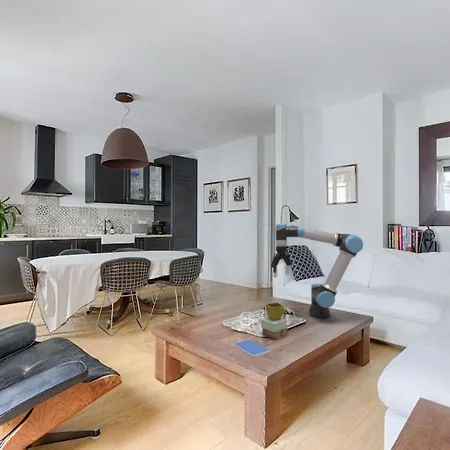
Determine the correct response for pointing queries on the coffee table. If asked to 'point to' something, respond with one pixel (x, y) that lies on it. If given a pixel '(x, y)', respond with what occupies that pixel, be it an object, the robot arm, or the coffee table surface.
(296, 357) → the coffee table surface
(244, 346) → the tablet computer
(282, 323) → the top block
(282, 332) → the bottom block
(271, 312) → the flower pot
